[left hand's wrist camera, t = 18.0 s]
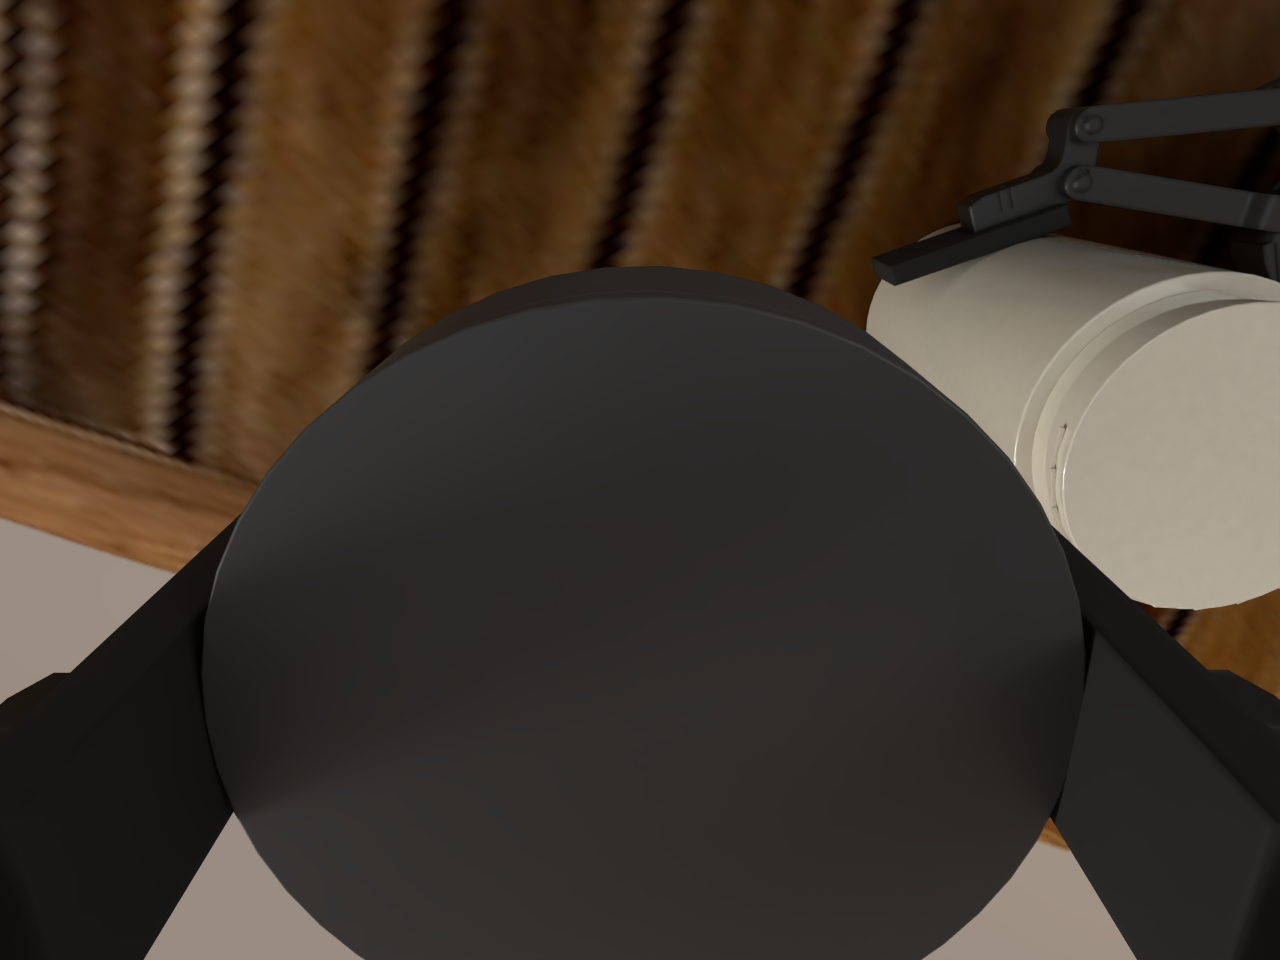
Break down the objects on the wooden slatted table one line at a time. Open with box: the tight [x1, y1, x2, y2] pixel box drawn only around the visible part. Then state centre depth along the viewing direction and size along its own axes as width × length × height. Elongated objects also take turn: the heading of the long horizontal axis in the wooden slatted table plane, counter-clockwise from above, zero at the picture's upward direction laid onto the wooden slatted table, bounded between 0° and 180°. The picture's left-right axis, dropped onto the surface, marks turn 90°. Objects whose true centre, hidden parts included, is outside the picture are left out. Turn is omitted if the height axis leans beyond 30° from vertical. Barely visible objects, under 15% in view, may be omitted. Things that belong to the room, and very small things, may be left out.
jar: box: [866, 223, 1280, 610], centre depth 32 cm, size 9×9×19 cm
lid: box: [201, 266, 1086, 960], centre depth 11 cm, size 10×10×2 cm
